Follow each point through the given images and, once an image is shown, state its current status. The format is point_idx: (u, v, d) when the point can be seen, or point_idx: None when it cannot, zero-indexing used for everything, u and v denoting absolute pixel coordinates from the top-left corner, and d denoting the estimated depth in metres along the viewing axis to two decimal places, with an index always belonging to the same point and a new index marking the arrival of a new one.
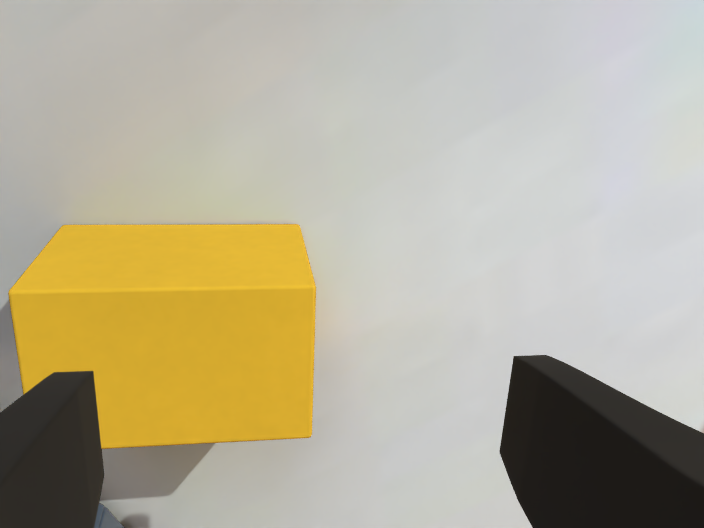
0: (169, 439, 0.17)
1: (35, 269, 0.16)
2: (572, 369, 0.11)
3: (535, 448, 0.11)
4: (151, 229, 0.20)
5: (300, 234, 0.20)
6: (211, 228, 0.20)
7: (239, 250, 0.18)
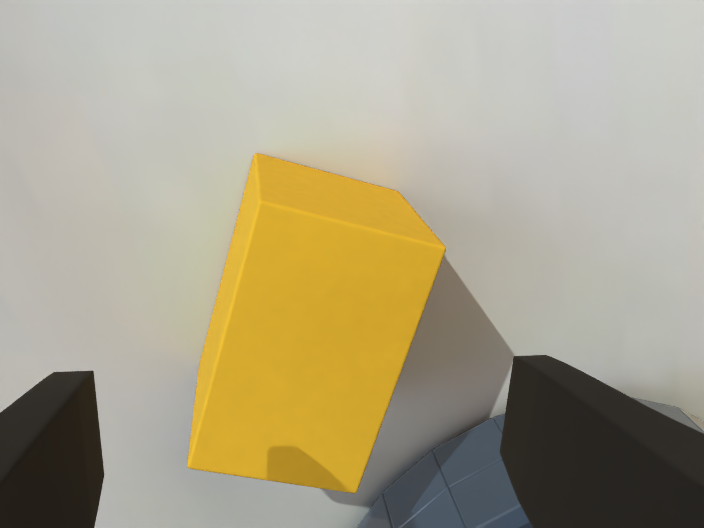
0: (389, 382, 0.16)
1: (192, 429, 0.17)
2: (572, 370, 0.11)
3: (535, 448, 0.11)
4: (217, 298, 0.20)
5: (254, 162, 0.18)
6: (231, 244, 0.19)
7: (237, 241, 0.17)
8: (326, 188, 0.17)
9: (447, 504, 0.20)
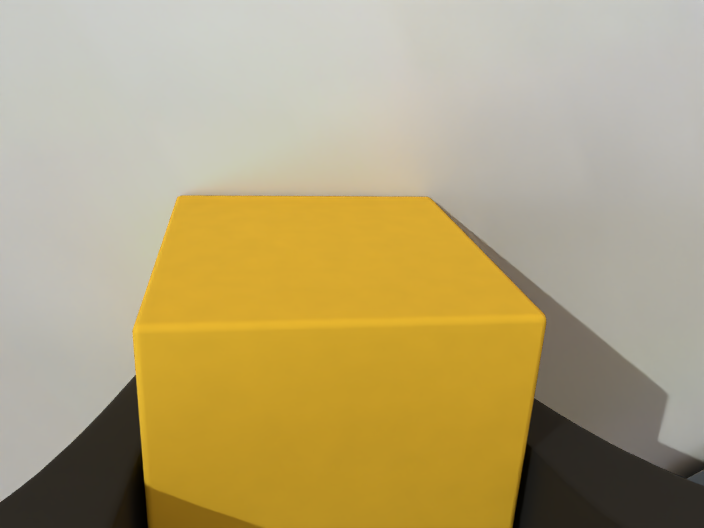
0: None
1: None
2: None
3: None
4: None
5: (171, 215, 0.10)
6: None
7: None
8: (296, 235, 0.09)
9: None
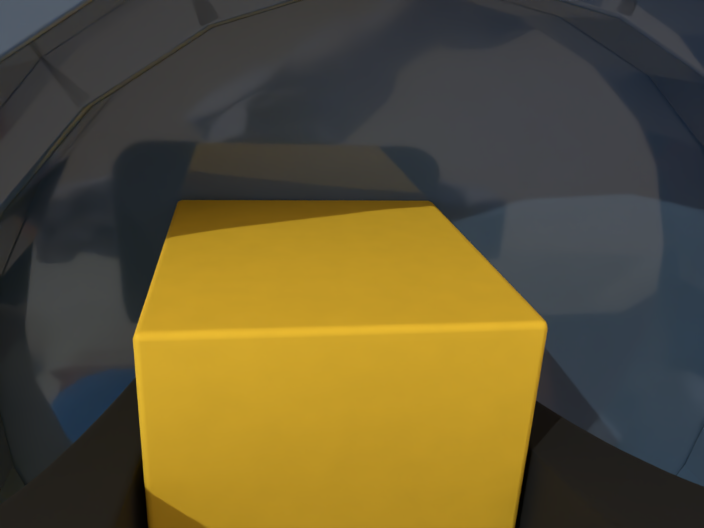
0: None
1: None
2: None
3: None
4: None
5: None
6: None
7: None
8: (297, 241, 0.09)
9: None
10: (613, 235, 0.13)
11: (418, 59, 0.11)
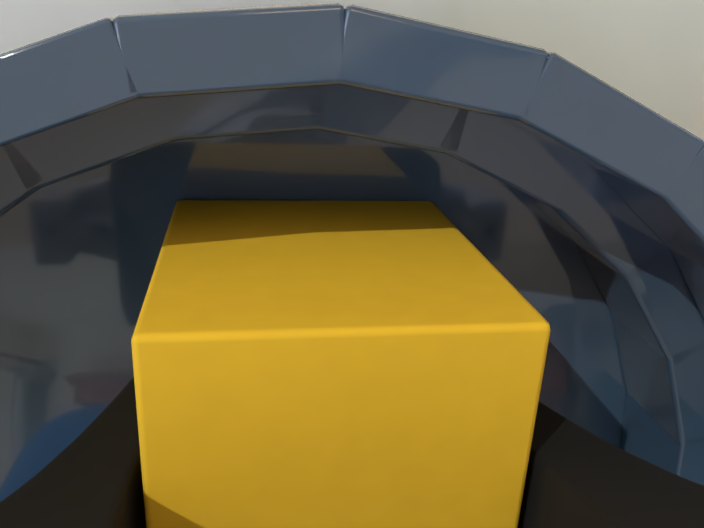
0: None
1: None
2: None
3: None
4: None
5: (170, 221, 0.10)
6: None
7: None
8: (297, 241, 0.09)
9: None
10: None
11: (277, 178, 0.11)
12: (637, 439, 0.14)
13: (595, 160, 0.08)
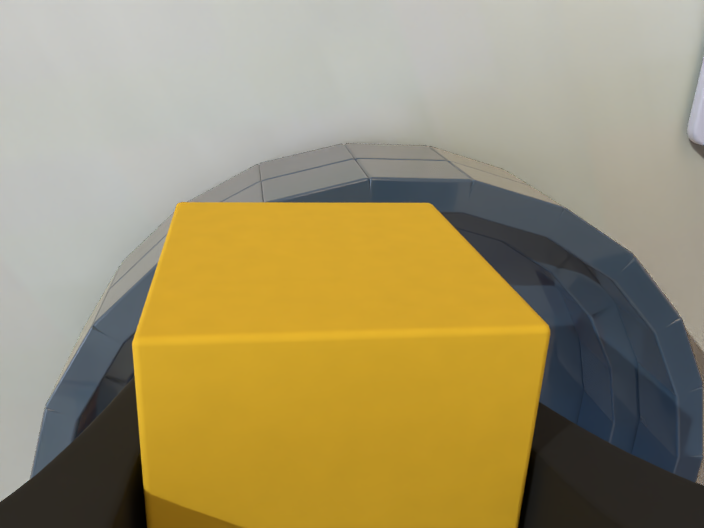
0: None
1: None
2: None
3: None
4: None
5: None
6: None
7: None
8: (297, 243, 0.09)
9: (98, 308, 0.16)
10: None
11: None
12: (590, 370, 0.21)
13: (506, 225, 0.15)
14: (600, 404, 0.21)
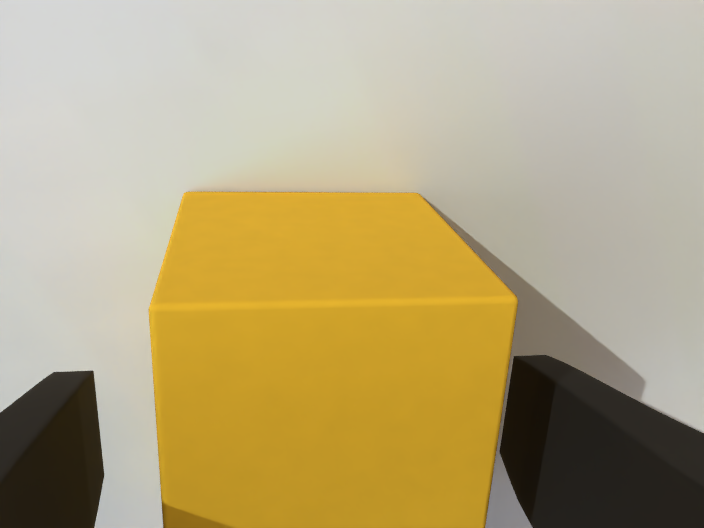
0: None
1: None
2: (572, 369, 0.11)
3: (535, 448, 0.11)
4: None
5: None
6: None
7: None
8: (294, 228, 0.10)
9: None
10: None
11: None
12: None
13: None
14: None
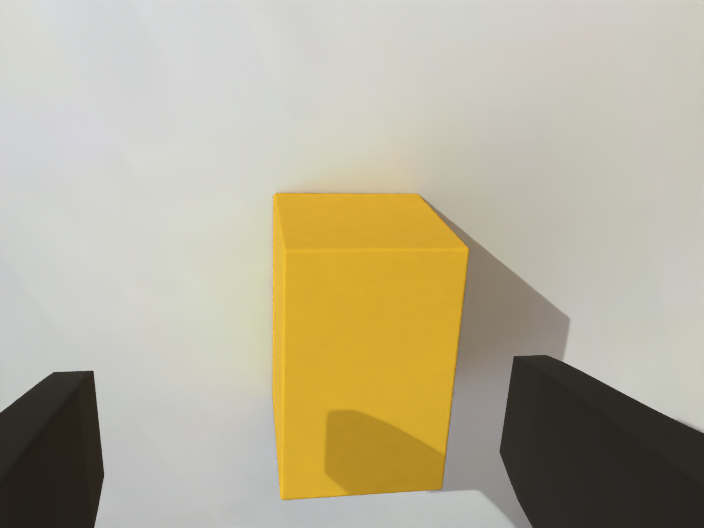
0: (446, 383, 0.17)
1: None
2: (572, 369, 0.11)
3: (535, 448, 0.11)
4: (273, 334, 0.21)
5: (275, 204, 0.19)
6: (273, 281, 0.20)
7: (276, 282, 0.18)
8: (346, 214, 0.18)
9: None
10: None
11: None
12: None
13: None
14: None
